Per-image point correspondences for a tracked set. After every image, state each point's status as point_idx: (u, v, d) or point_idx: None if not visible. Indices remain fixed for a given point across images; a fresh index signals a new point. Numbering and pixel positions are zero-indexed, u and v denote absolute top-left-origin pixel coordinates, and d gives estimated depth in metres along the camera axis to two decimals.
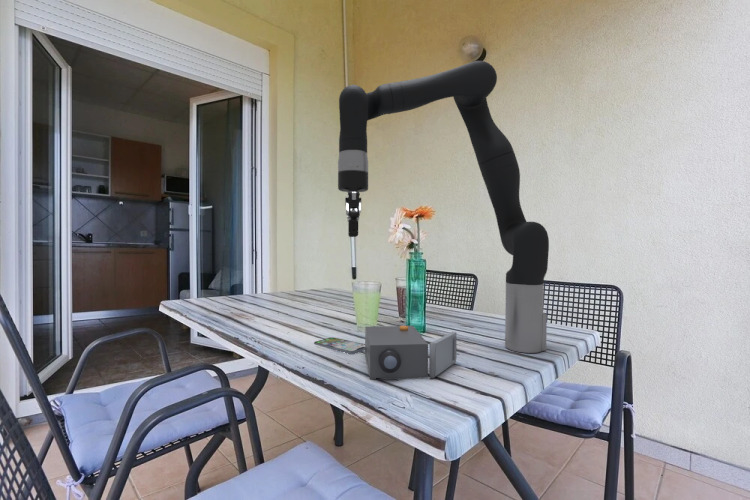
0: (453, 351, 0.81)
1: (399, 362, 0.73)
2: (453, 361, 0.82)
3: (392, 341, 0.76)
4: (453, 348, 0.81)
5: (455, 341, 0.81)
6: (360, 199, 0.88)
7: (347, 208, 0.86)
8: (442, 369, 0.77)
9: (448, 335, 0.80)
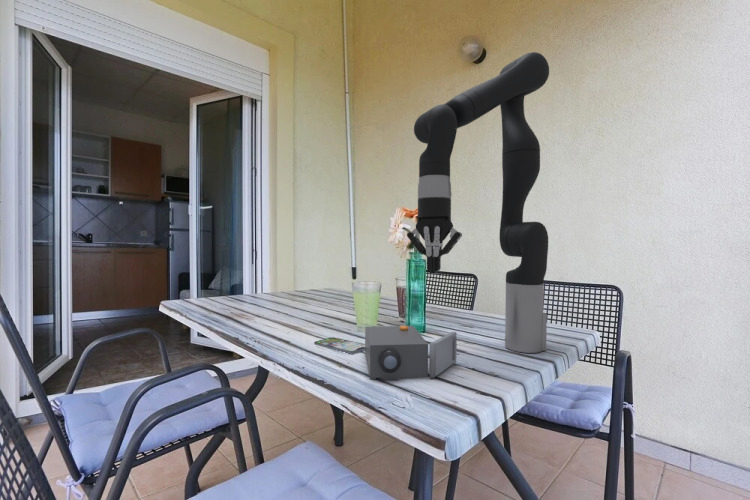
0: (453, 351, 0.81)
1: (399, 362, 0.73)
2: (453, 361, 0.82)
3: (392, 341, 0.76)
4: (453, 348, 0.81)
5: (455, 341, 0.81)
6: (424, 230, 0.82)
7: None
8: (442, 369, 0.77)
9: (448, 335, 0.80)
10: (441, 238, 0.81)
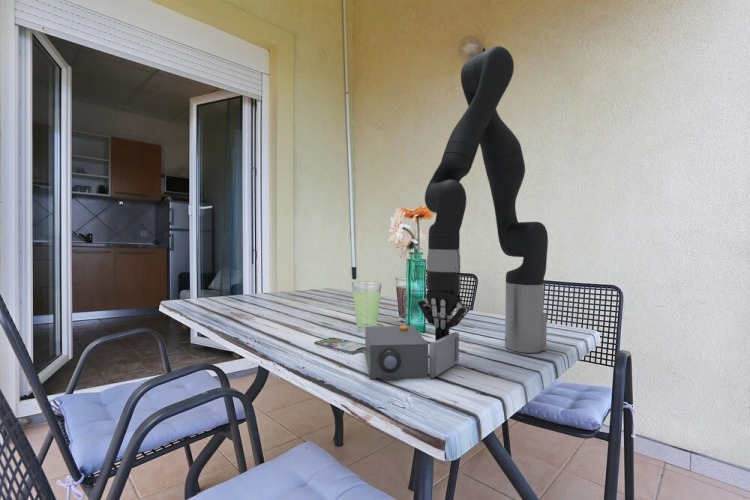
0: (455, 351, 0.81)
1: (399, 362, 0.73)
2: (455, 361, 0.81)
3: (392, 341, 0.76)
4: (455, 348, 0.81)
5: (457, 341, 0.81)
6: None
7: None
8: (443, 369, 0.77)
9: (450, 335, 0.80)
10: (447, 311, 0.81)
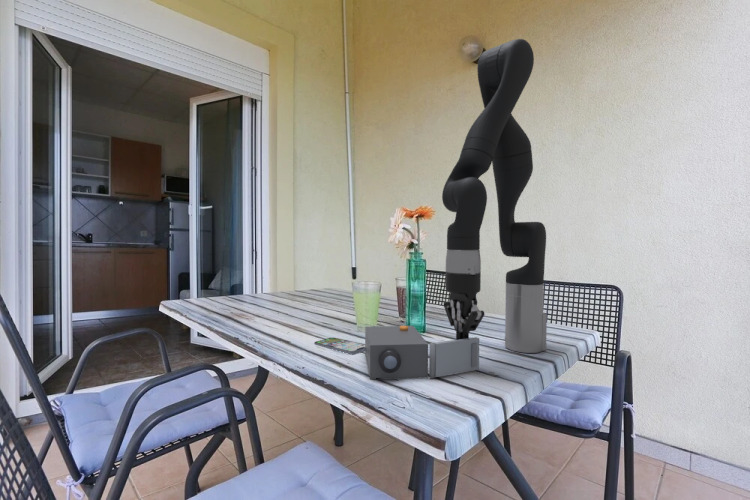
0: (471, 357, 0.77)
1: (399, 362, 0.73)
2: (472, 368, 0.77)
3: (392, 341, 0.76)
4: (471, 354, 0.77)
5: (474, 347, 0.77)
6: (451, 303, 0.81)
7: None
8: (450, 372, 0.75)
9: (464, 339, 0.77)
10: (463, 314, 0.77)
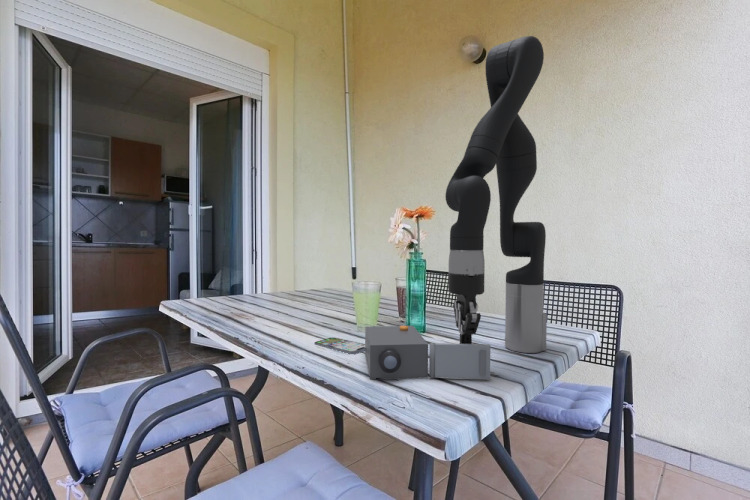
0: (479, 364, 0.72)
1: (399, 362, 0.73)
2: (481, 376, 0.73)
3: (392, 341, 0.76)
4: (479, 361, 0.72)
5: (483, 354, 0.72)
6: None
7: None
8: (452, 376, 0.73)
9: (471, 344, 0.73)
10: (463, 316, 0.76)
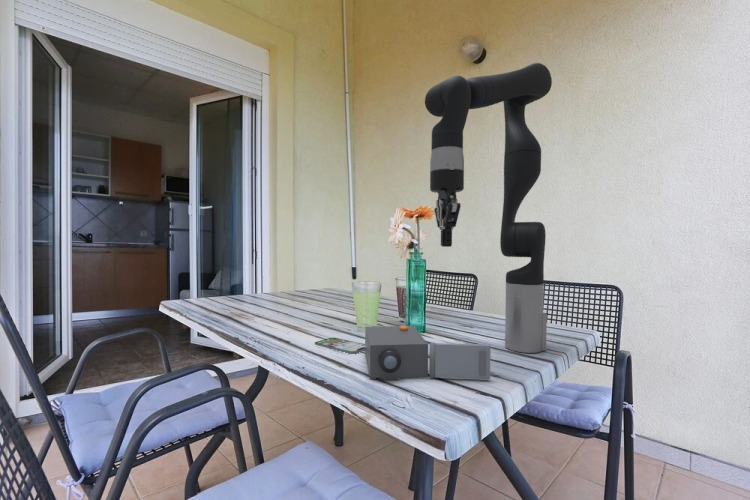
0: (479, 364, 0.72)
1: (399, 362, 0.73)
2: (481, 376, 0.73)
3: (392, 341, 0.76)
4: (479, 361, 0.72)
5: (483, 354, 0.72)
6: None
7: None
8: (452, 376, 0.73)
9: (471, 344, 0.73)
10: (444, 211, 0.80)
